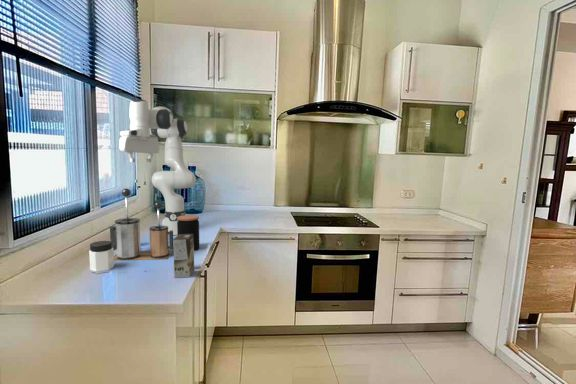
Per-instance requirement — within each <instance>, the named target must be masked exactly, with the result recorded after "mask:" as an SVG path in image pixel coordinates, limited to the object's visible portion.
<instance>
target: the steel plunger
mask: <svg viewBox="0 0 576 384" xmlns="http://www.w3.org/2000/svg"><path fill="white" fill-rule="evenodd" d="M121 195H122V196H123V197H124V198H125V201H124V202H125V218H126V221H128V218H129V203H128V202H129V201H128V200H129V199H128V197H129V196H130V195H131V190H130V189H129V188H123V189H122V190H121Z"/></svg>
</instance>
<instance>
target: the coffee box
mask: <svg viewBox="0 0 576 384" xmlns="http://www.w3.org/2000/svg"><path fill="white" fill-rule="evenodd" d="M173 250H174V251H173V277H174V278H190V277H191V276H192V274H193V272H194V271H195V251H194V234H179V235H176V236H175V237H173Z"/></svg>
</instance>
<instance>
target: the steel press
mask: <svg viewBox="0 0 576 384" xmlns="http://www.w3.org/2000/svg"><path fill="white" fill-rule="evenodd" d="M109 235H110V236H109V238H110V240H109V241H111V242H112V248H113V251H115V253H116V254H117V259H120V260H128V261H130V260H129V259H135V258H138V257H140V253H141V251H142V250H141V249H142V248H141V223H140V218H137V217H128V221H126V217H125V218H119V219H116V220H114V225H111V226H110V227H109Z"/></svg>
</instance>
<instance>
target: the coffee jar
mask: <svg viewBox="0 0 576 384" xmlns="http://www.w3.org/2000/svg"><path fill="white" fill-rule="evenodd" d="M177 219H178V222H177V234H178V235H179V234H194V252H196V251H198V250H199V249H200V221H199V219H200V216H199V215H197V214H185V215H182V216H178V217H177ZM178 235H177V236H178Z"/></svg>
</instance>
